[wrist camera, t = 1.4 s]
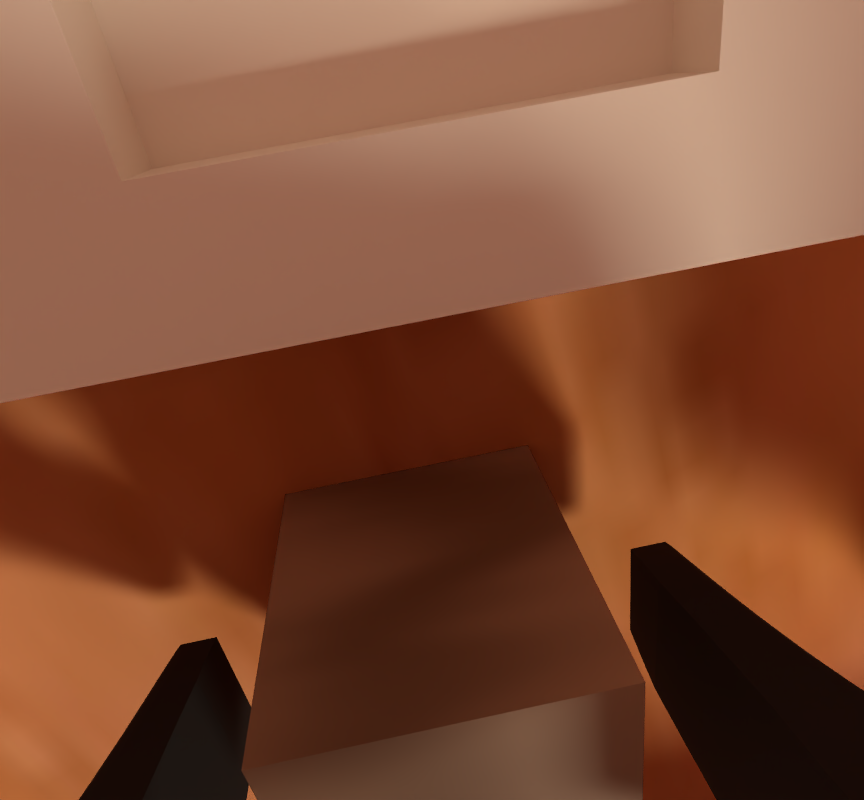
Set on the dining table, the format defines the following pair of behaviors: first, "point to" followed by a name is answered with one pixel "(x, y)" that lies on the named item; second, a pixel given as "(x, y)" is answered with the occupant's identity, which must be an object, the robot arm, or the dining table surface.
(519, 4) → the base board
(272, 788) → the walnut block
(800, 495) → the dining table surface
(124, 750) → the robot arm
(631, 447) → the dining table surface
